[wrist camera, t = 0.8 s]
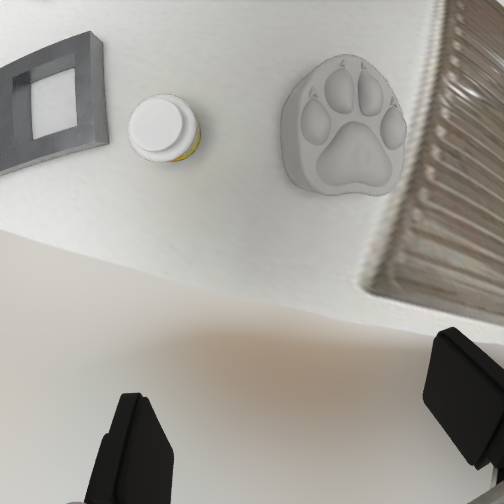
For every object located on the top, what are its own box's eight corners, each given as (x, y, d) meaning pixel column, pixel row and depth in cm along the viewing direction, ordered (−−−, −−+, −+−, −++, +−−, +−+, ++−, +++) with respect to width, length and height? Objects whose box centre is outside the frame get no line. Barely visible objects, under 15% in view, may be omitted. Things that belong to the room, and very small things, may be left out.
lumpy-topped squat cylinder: (281, 189, 33) (302, 198, 25) (278, 69, 30) (298, 41, 21) (371, 189, 34) (413, 199, 26) (369, 78, 30) (409, 59, 22)
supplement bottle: (137, 145, 30) (104, 139, 20) (167, 99, 29) (145, 74, 19) (181, 172, 32) (165, 176, 22) (212, 126, 31) (209, 110, 21)
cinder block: (-44, 108, 25) (-62, 106, 21) (102, 42, 26) (90, 30, 23) (-39, 192, 28) (-58, 196, 24) (109, 143, 30) (95, 141, 26)
